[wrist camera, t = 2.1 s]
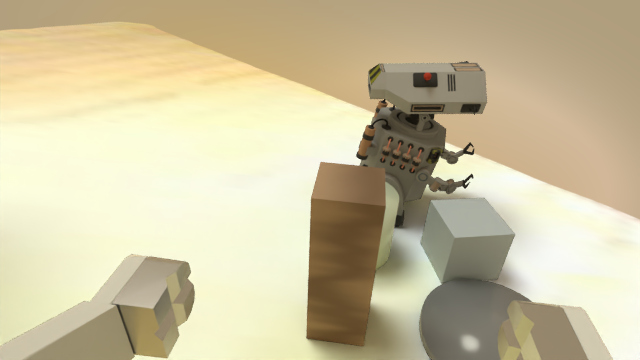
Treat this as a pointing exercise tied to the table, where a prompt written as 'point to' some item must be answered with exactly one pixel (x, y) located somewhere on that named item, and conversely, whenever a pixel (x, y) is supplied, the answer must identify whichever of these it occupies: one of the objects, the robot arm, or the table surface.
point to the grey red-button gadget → (418, 123)
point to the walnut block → (344, 250)
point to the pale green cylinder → (388, 224)
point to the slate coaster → (465, 319)
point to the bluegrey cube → (465, 239)
